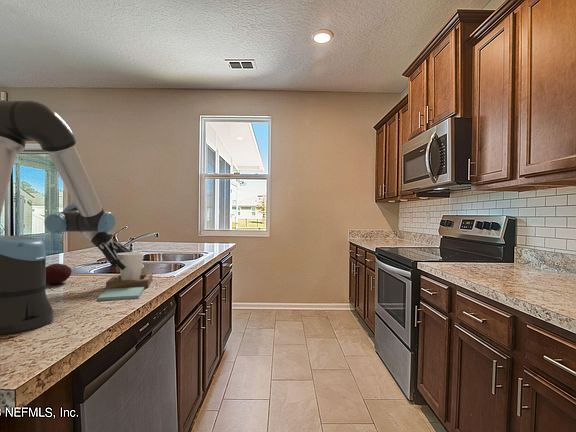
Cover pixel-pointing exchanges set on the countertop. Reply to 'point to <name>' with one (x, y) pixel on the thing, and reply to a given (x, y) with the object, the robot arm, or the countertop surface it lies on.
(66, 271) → the potato
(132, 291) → the mat
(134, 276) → the foam cup
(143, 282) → the brown flat square frame
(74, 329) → the countertop surface
